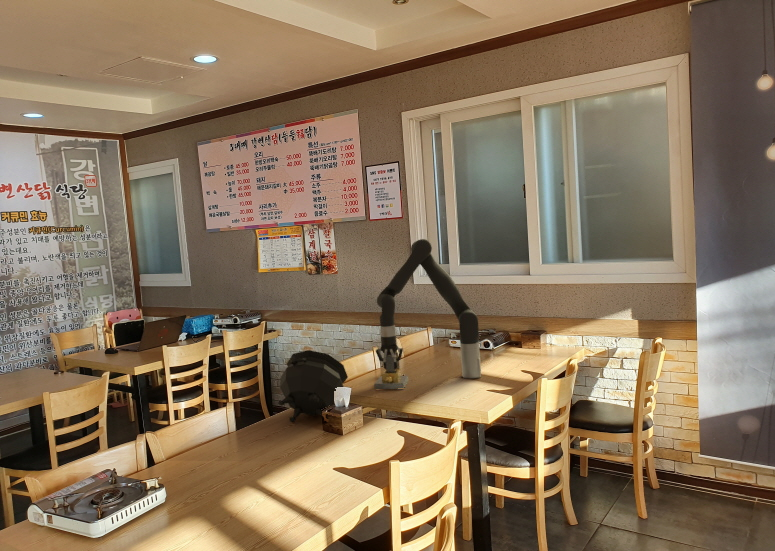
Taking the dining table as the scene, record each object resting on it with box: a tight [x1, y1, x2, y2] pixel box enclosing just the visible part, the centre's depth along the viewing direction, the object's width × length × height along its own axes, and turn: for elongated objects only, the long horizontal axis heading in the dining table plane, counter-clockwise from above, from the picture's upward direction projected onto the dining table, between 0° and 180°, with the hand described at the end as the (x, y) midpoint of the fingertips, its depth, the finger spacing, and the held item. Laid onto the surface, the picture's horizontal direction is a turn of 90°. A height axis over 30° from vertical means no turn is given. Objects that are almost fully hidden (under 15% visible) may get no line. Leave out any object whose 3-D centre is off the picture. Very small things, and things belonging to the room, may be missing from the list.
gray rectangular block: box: [385, 355, 396, 373], centre depth 286 cm, size 4×3×10 cm
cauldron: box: [277, 349, 349, 423], centre depth 245 cm, size 28×28×24 cm
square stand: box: [374, 369, 409, 390], centre depth 286 cm, size 14×14×7 cm
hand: (390, 369), depth 286 cm, fingers closed on gray rectangular block, 4 cm apart
